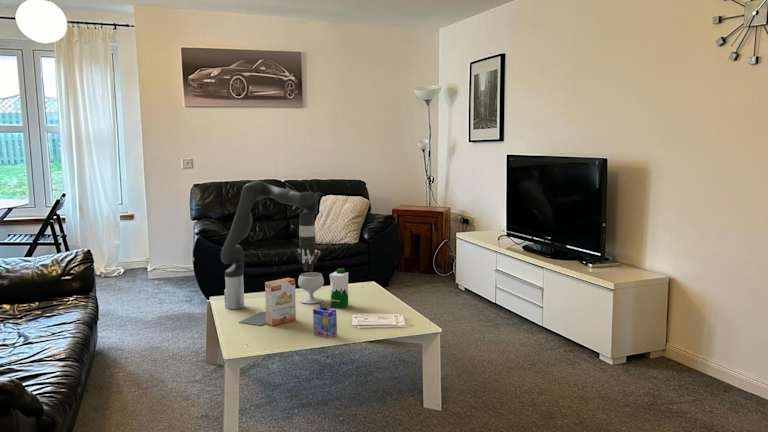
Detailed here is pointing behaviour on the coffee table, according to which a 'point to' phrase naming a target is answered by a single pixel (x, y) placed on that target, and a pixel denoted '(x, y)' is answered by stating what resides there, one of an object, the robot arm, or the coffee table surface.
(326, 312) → the ink cartridge box
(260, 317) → the mat
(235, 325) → the coffee table surface
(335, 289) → the milk carton
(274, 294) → the cracker box
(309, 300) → the chalice
